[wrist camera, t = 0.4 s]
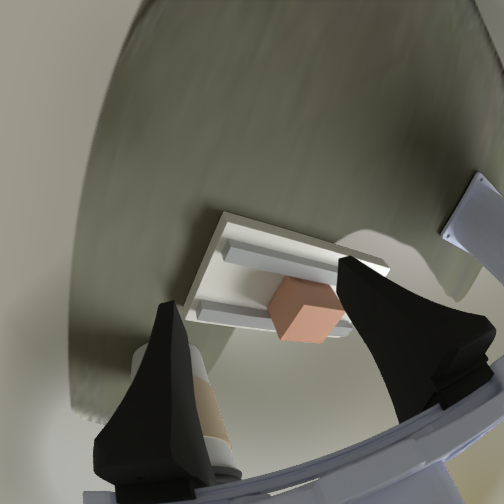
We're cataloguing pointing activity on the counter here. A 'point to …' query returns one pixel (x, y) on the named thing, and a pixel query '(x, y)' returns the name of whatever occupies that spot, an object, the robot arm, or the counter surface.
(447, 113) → the counter surface
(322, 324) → the switch
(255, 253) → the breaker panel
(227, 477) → the coffee cup
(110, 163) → the counter surface
